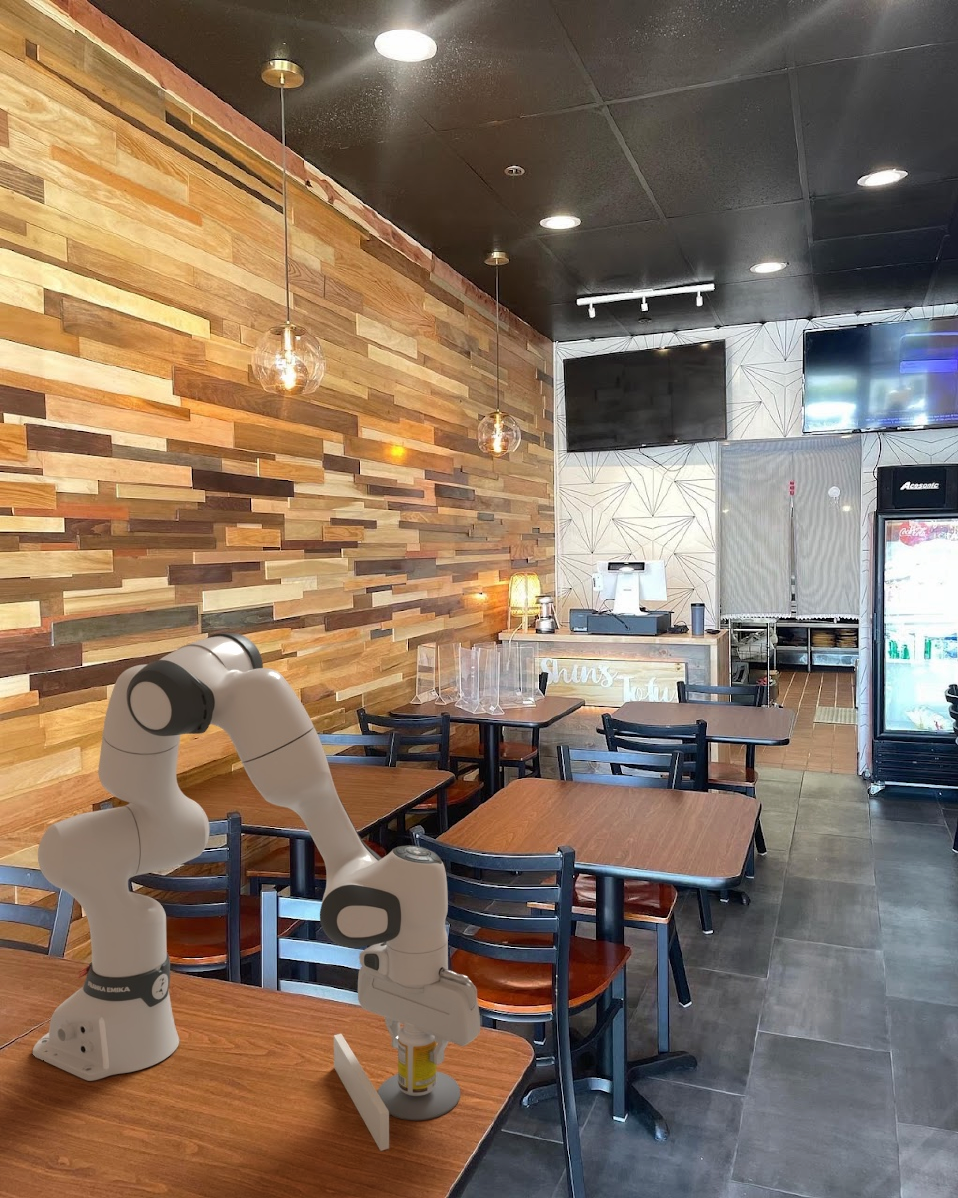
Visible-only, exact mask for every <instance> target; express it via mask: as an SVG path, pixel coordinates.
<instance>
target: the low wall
mask: <svg viewBox="0 0 958 1198" xmlns="http://www.w3.org/2000/svg"><path fill="white" fill-rule="evenodd" d="M333 1068H334V1069H335V1072H336V1074H337V1075H338V1077H339V1079H340V1081H341V1083H342V1084H343V1086H344V1088H345V1090H346V1091H347V1093H348V1095H349V1097H350V1098H351V1100H352V1102H353V1105H354V1106H355V1108H356V1110H357V1112H358V1113H359V1115H360V1117H361V1118H362V1121H363V1122H364V1123H365V1125H366V1128H367V1129H368V1132H370V1134H371V1138H372V1139H373V1140H374V1142H375V1143H376V1146H377V1147H378V1149H379V1151H380V1152H382V1151H385V1150H389V1149H390V1115H389V1111H388V1109H387V1108H386V1106H385V1104H384V1103H383V1101H382V1099H381V1098H380V1096H379V1094H378V1090H376V1088H375V1086H374V1085H373V1083H372V1081H371V1080H370V1078H369V1077H368V1076H369V1075H368V1074H367V1073H366V1071H365V1070H364V1068H363V1066H362V1065H361V1063H360V1062H359V1060H358V1058H357V1057H356V1055H355V1053H354V1052H353V1050H352V1049H351V1047H350V1045H349V1044H348V1042H347V1041H346V1039H345V1037H344V1036H343V1034H342V1033H337V1034H334V1035H333Z"/></svg>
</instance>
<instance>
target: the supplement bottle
mask: <svg viewBox="0 0 958 1198" xmlns="http://www.w3.org/2000/svg"><path fill="white" fill-rule="evenodd" d="M402 1025H403V1026H402V1027H401V1030H400V1031H399V1033H398V1049H397V1074H398V1085H399V1088H400V1090H401V1091H402V1092H403V1093H405V1094H407V1095H411V1096H422V1095H426V1094H428V1093H430V1092H431V1091H432V1090H433V1089H434V1088H435V1086H436V1075H437V1066H438V1065H436V1064H434V1063H431V1062H429V1058H430V1057H429V1051H430V1050H431V1049H434V1047H435V1046H437V1044H438V1043H436V1042H435V1036H433V1035H431V1034H428V1033H425V1032H423V1031H420V1030H417V1029H416V1028H415V1026H414V1025H413V1024H411V1023H409V1022H405V1024H402Z"/></svg>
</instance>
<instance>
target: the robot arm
mask: <svg viewBox="0 0 958 1198" xmlns="http://www.w3.org/2000/svg"><path fill="white" fill-rule="evenodd" d="M105 712H106V713H105V718H104V722H103V728H102V729H103V730H102V739H101V745H100V754H99V763H98V771H97V772H98V778H99V781H100V783H101V786H102V787H103V788H104V789H105V791H107V792H108V793H109V794H111V795H112V796H113V797H115V798H117V799H119V800H121V801H123V802H127V803H128V804H126V805H122V806H118V807H111V808H106V809H100V810H94V811H89V812H84V813H83V812H82V813H79V814H77V815H73V816H71V817H68V818H65V819H62V820H60V821H58V822H54V823H53V824H51V825H49V826H48V828H47V829H46V830H45V831H44V833H43V834H42V837H41V839H40V841H39V844H38V849H37V850H38V851H37V861H38V866H39V869H40V872H41V873H42V875H43V876H44V878H45V879H46V880H47V881H48V883H50V884H51V885H52V886H54V887H56V888H58V889H60V890H63V891H64V892H65V893H67V894H69V895H70V896H71V897H72V898H74V899H75V900H76V902H78V904H79V905H80V906H81V908H82V910H83V911H84V914H85V916H86V918H87V922H88V927H89V932H90V933H89V934H90V935H89V936H90V943H91V945H90V946H91V962H89V963H88V965H87V966H86V967H84V968H82V969H80V970H78V971H77V973H78V974H79V973H80V974H79V975H78V976H77V978H78V979H80V978H83V977H85V976H86V977H85V980H84V983H83V986H82V987H80V988H79V989H78V990H77V991H75V992H74V993H73V994H72V995H70V996H69V997H68V998H66V999H65V1000H64V1001H63V1002H62V1003H60V1005H59V1006H57V1007H56V1008H55V1010H54V1012H53V1013H52V1015H51V1018H50V1023H49V1029H48V1030H49V1031H47V1033H45V1034H44V1035H43V1036H42V1037H41V1038H40V1039H39V1040H37V1042H36V1043H35V1044H34V1046H33V1049H32V1054H33V1055H34V1056H35V1058H36V1059H39V1060H41V1061H43V1060H44V1062H46V1063H48V1064H50V1065H52V1066H55V1067H56V1068H58V1069H61V1070H63V1071H65V1072H67V1073H69V1074H72V1075H74V1076H76V1077H78V1078H80V1079H82V1080H85V1081H89V1082H91V1081H92V1082H93V1081H97V1080H101V1079H104V1078H107V1077H109V1076H114V1075H118V1074H119V1075H120V1074H126V1073H132V1072H136V1071H140V1070H143V1069H146V1068H149V1067H152V1066H154V1065H156V1064H159V1063H160V1062H162V1061H164V1060H165V1059H167V1058H168V1057H169V1056H171V1055H173V1053H174V1052H175V1051H176V1050H177V1048H178V1046H179V1044H180V1037H179V1035H178V1032H177V1028H176V1025H175V1024H176V1023H175V1018H174V1015H173V1014H174V1013H173V1009H172V1003H171V996H170V995H171V994H170V982H171V981H170V980H171V961H170V955H169V954H168V952H167V951H168V950H167V948H168V947H167V915H166V911H165V909H164V908H163V905H161V903H160V902H159V901H157V900H156V899H155V898H152V897H150V896H147V895H144V894H140V893H137V892H133V891H130V890H129V880H130V879H131V878H133V877H135V876H141V875H146V874H149V873H154V872H157V871H158V872H159V871H163V870H168V869H173V868H174V867H178V866H180V865H182V864H184V863H187V862H189V861H192V860H194V859H196V858H198V857H200V856H201V855H202V854H203V852H204V850H205V849H206V846H207V844H208V842H209V837H210V822H209V818H208V816H207V814H206V812H205V810H204V809H203V807H202V806H201V805H200V803H198V802H196V801H195V800H193V799H191V798H190V797H188V796H186V795H185V794H184V792H183V791H182V790H181V788H180V787H179V784H178V779H177V768H178V757H179V748H180V741H181V735H188V734H190V735H192V734H195V735H196V734H198V735H199V734H201V735H202V734H204V733H205V732H207V730H208V729H209V727H210V725H212V726H213V725H214V726H215V727H219V728H220V729H222V730H223V731H224V732H225V733H226V734H227V735H228V737H229V739H230V740H231V742H232V745H234V748H235V751H236V753H237V755H238V757H239V758H238V759H240V761H241V764H242V766H243V768H244V771H245V772H246V774H247V776H248V778H249V780H250V781H251V783H252V784H253V785H254V787H255V788H256V790H257V791H258V792H259V794H260V795H261V797H262V798H263V799H264V800H265V801H266V802H268V803H269V804H271V805H274V806H278V807H283V808H287V809H290V810H291V811H293V812H294V813H296V814H297V815H298V816H299V817H300V818H301V819H300V820H302V822H303V823H304V825H305V827H306V829H307V831H308V832H309V835H310V836H311V838H312V840H313V842H314V844H315V846H316V847H317V850H318V852H319V853H320V855H321V857H322V859H323V861H324V866H325V870H326V871H325V872H326V877H325V878H326V879H325V881H326V882H325V883H326V884H325V890H324V893H323V897H322V900H321V906H320V911H319V921H320V926H321V928H322V931H323V932H324V934H325V936H327V938H328V939H330V941H332V942H333V943H335V944H336V945H338V946H341V947H344V948H351V949H353V948H363V947H367V946H368V947H367V948H365V949H364V950H362V951H360V952H359V956H358V959H359V964H360V965H361V967H360V968H359V970H358V974H357V976H358V979H357V1000H358V1003H359V1005H360V1006H361V1008H362V1009H363V1010H365V1011H367V1012H370V1013H373V1014H376V1015H377V1016H380V1017H383V1018H384V1024H385V1026H386V1028H387V1030H388V1033H389V1036H390V1037H391V1047H392V1048H394V1049H396V1050H398V1033H399V1031H400V1030H401V1029H402V1026H401V1025H403V1024H405V1022H409V1023H411V1024H413V1025H414V1026H415V1028H416V1029H417V1030H420V1031H423V1032H425V1033H428V1034H431V1035H433V1036H435V1042H436V1043H437V1046H435V1047H434V1049H431V1050H430V1051H429V1057H430V1058H429V1062H431V1063H434V1064H436V1065H437V1066H439V1065H441V1064H442V1063H443V1062H444V1061H445V1050H446V1048H447V1046H448V1045H449V1043H452V1044H454V1045H458V1046H460V1047H465V1046H467V1045H469V1044H470V1043H471V1042H473V1041H474V1040H475V1039H476V1038H477V1037H478V1036H479V1035H480V1033H481V1020H480V1019H481V1018H480V1008H479V1003H478V1001H479V1000H478V989H477V986H476V985H474V983H473V982H472V981H471V980H470V978H469V976H467V975H465V974H462V973H460V974H459V973H457V972H455V971H453V970H451V969H449V956H448V955H449V953H448V952H449V949H448V948H449V945H448V943H449V941H448V940H449V938H448V932H447V929H446V920H447V919H446V918H447V915H448V910H449V909H448V908H449V906H448V905H449V904H448V900H449V899H448V881H447V880H448V879H447V874H446V868H445V865H444V862H443V861H442V859H441V857H440V856H439V855H438V854H437V853H436V852H435V851H432V850H429V849H428V848H426V847H423V846H417V845H401V846H397V847H394V848H392V850H391V851H390V852H389V853H388V854H387V855H385V856H383V857H381V856H380V855H379V854H378V853H377V852H376V851H374V849H371V847H369V846H368V845H367V844H366V843H365V842H364V840H363V839H362V837H361V836H360V835H359V833H358V831H357V829H356V827H355V825H354V823H353V821H352V819H351V817H350V816H349V814H348V811H347V809H346V808H345V805H344V803H343V801H342V800H341V798H340V796H339V794H338V791H337V789H336V787H335V783H334V780H333V776H332V773H331V769H330V765H329V762H328V759H327V756H326V752H325V750H324V746H323V745H322V741H321V739H320V736H319V735H318V732H317V730H316V727H315V726H314V723H313V722H312V720H311V718H310V715H309V714H308V711H307V710H306V709H305V706H304V704H303V703H302V701H301V700H300V699H299V697H298V695H297V694H296V692H295V690H294V689H293V688H292V686H291V685H290V683H289V682H288V681H287V680H286V678H285V677H284V676H283V674H282V673H280V671H277V670H275V669H273V668H268V667H264V663H263V658H262V655H261V653H260V651H259V649H258V647H257V646H256V645H255V643H254V642H253V641H252V640H251V639H250V638H248V637H246V636H245V635H242V634H240V633H237V632H220V633H215V634H211V635H209V636H207V637H206V638H203V639H199V640H196V641H192V642H190V643H187V644H183V645H182V646H181V647H179V648H177V649H176V650H174V651H172V652H170V653H169V654H167V655H164V656H163V657H161V658H160V659H158V660H157V659H156V660H154V661H151V662H149V663H147V664H139V665H138V664H137V665H135V666H132V667H129V668H127V669H125V670H124V671H123V672H121V674H119V676H118V677H117V679H116V681H115V684H114V687H113V689H112V691H111V695H110V697H109V702H108V705H107V709H106V711H105ZM33 1055H32V1056H33ZM34 1056H33V1057H34Z"/></svg>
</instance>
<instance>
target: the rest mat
mask: <svg viewBox="0 0 958 1198" xmlns="http://www.w3.org/2000/svg"><path fill="white" fill-rule="evenodd" d="M378 1087H379V1088H378V1090H377V1093H378V1094H379V1096H380V1098H381V1099H382V1101H383V1103H384V1104H385V1106H386V1108H387V1109H388V1111H389V1116H391V1117H394V1118H397V1119H400V1120H405V1121H428V1120H432V1119H435V1118H438V1117H441V1116H443V1115H445V1114H447V1113H449V1112H450V1111H452V1110H453V1109H454V1108H455V1107H456V1106H457V1105H458V1103H459V1101H460V1098H461V1087H460V1085H459V1083H458V1082H457V1081H456V1079H454V1078H453V1077H452V1076H450V1075H449V1074H446V1073H444V1072H441V1071H437V1075H436V1086H435V1088H434V1089H433V1090H432V1091H431V1092H430V1093H428V1094H426V1095H422V1096H411V1095H407V1094H405V1093H403V1092H402V1091H401V1090H400V1088H399V1085H398V1073H396V1074H395V1075H392V1076H390V1077H388V1078H387V1079H386V1080H384V1082H382V1084H380V1086H378Z"/></svg>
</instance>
